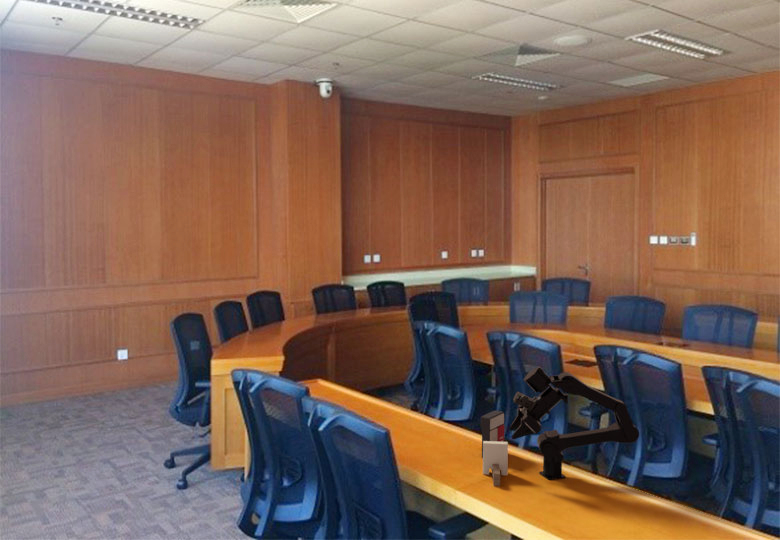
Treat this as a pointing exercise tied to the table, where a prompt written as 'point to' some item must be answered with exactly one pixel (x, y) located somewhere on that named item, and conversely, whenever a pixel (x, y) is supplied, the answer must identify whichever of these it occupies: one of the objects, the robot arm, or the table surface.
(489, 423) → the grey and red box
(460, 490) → the table surface
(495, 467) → the slotted beam
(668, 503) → the table surface
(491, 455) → the notched plate
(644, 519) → the table surface
